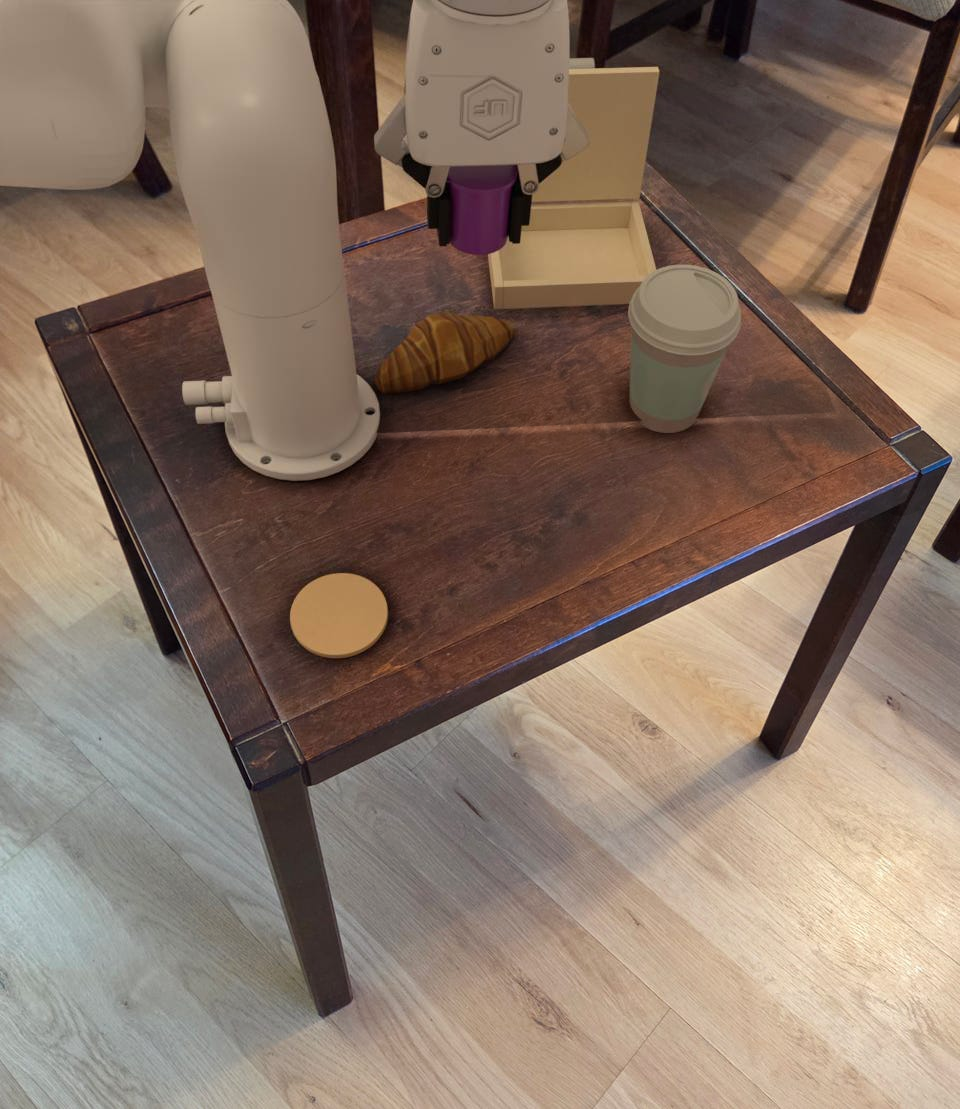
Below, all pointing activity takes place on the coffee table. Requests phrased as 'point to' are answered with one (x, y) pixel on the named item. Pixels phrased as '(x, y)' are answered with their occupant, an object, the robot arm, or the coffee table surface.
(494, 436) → the coffee table surface
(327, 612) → the coaster
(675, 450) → the coffee table surface
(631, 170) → the box lid
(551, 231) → the shallow wooden crate
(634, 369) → the coffee cup
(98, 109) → the robot arm
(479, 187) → the coffee pod
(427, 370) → the croissant
